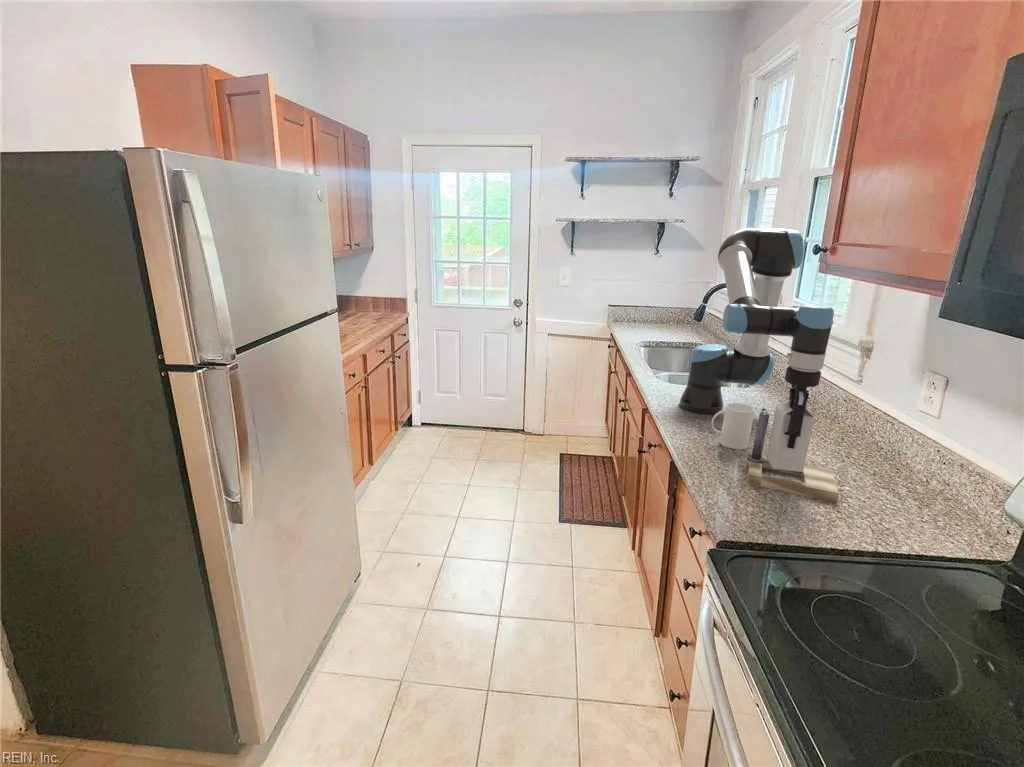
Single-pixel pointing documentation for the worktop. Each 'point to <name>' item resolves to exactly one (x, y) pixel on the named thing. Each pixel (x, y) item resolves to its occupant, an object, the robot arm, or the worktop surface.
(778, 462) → the milk carton
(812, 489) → the tan flat frame
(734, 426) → the mug
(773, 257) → the robot arm
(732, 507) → the worktop surface
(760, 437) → the metal door lever handle
